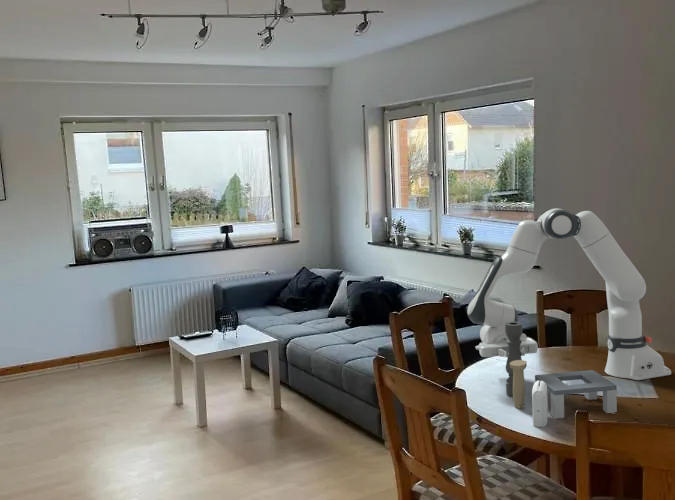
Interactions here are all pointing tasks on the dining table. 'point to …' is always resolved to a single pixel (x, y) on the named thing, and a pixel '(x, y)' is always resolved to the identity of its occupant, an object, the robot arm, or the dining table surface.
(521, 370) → the handle
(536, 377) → the hole stand
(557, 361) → the dining table surface
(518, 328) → the candle holder
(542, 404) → the photo printer
